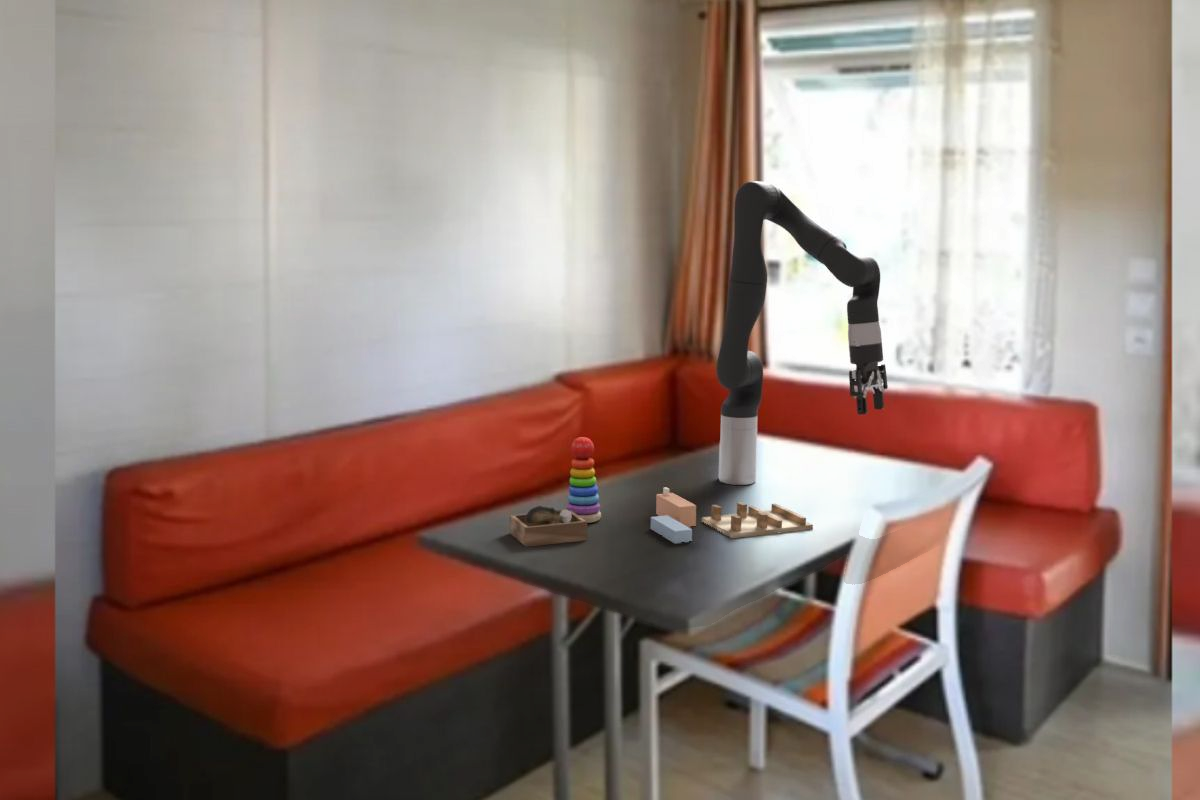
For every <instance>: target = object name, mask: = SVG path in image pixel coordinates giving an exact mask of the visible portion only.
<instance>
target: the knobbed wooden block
mask: <svg viewBox="0 0 1200 800" xmlns="http://www.w3.org/2000/svg"><path fill="white" fill-rule="evenodd" d="M662 489H663V491H662V493H657V494H656V495H655V497H656V502H655V503H656V507H655V510H656V511H655V512H656V513H655V515H656V514H657V515H658V516H664V515H668V516H670V517H671V518H673V519H675V520H677V521H678V522H680V523H682V524H684V525H685V526H687V527H689V528H692V527H691V526H697V505H696V504H694V503H693V502H691V501H689V500H686V499H685V498H684V497H681V496H679V495H677V494H675V493H673V492H670V488H668V487H667V486H666V487H663V488H662ZM657 515H656V516H657Z"/></svg>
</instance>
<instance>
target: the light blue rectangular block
mask: <svg viewBox="0 0 1200 800" xmlns="http://www.w3.org/2000/svg"><path fill="white" fill-rule="evenodd" d="M650 530H652V531H653V532H655V533H656V534H659V535H662V536H661V537H663V538H664V539H667V540H668V541H670V542H671V543H673V544H682V543H681V542H685V543H690V542H689V541H692V542H693V529H692V527H687V526H685V525H684V524H682V523H680V522H678V521H677V520H675V519H673V518H671V517H670V516H668V515H664V516H657V515H656V516H650Z"/></svg>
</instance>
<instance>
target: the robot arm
mask: <svg viewBox="0 0 1200 800" xmlns="http://www.w3.org/2000/svg"><path fill="white" fill-rule="evenodd" d="M733 210H734V215H733V216H734V219H733V220H734V223H733V224H734V225H733V226H734V227H733V228H734V229H733V233H734V234H733V246H732V256H731V267H730V268H731V269H730V273H729V274H730V275H729V280H728V281H729V282H728V290H727V304H726V311H725V317H724V318H725V319H724V327H723V334H722V339H721V343H720V347H719V351H718V352H719V353H718V355H717V356H718V358H717V363H716V369H715V370H716V378H717V379H718V382H719V385H720V386H721V387H722V388H724V389H725V390H728V391H729V393H728V395H727V397H726V398H725V400H724V401H723V402H722V403H721V406H720V440H719V443H718V445H719V446H718V447H719V448H718V480H719V482H720V483H723V484H727V485H732V486H734V485H735V486H736V485H737V486H744V485H745V486H746V485H752V484H754V483H756V481H757V480H756V478H757V477H756V476H757V450H758V449H757V448H758V446H757V445H758V444H757V443H758V418H759V417H758V415H759V414H758V413H759V407H760V405H761V402H762V398H763V397H762V396H763V395H762V394H763V383H764V367H763V362H762V360H761V358H760V357H759V355H758V354H757V353H755V352H754V351H752V350H749V343H750V338H751V334H752V332H753V329H754V326H755V325H756V322H757V321H758V318H759V316H760V314H761V312H762V310H763V307H764V304H765V300H766V295H767V285H768V269H767V266H766V265H767V264H766V261H765V257H764V253H763V248H762V232H763V224H764V221H766V220H767V221H769V222H771V223H774V224H775V225H778V226H779V227H781V228H782V229H784V230H785V231H786V232H787V233H788V234H790V235H791V237H793V239H794V240H795V242H796V243H797V244H798V245H799V247H800V248H801V249H802V250H803V251H805V253H807V254H808V255H809V256H811V257H812V258H814V259H815V260H816V261H818V262H819V263H820V264H822V265H823V266H825V267H826V269H827V270H828V271H829V272H830V274H832V275H833V276H834V277H835V278H836V280H838V281H839V283H841V284H842V285H845V286H846V287H849V288H852V289H853V290H852V297H851V298H850V299H849V300H848V301H847V303H846V313H847V323H848V324H847V325H848V326H847V328H848V329H847V337H848V339H847V341H848V350H849V361H850V362H849V363H850V364H851V365H855V367H856V368H855V369H854V370H853V369H852V370H849V371H848V377H849V378H848V379H849V380H848V381H849V396H850V397H854V399H855V400H856V410H857V412H856V413H857V415H866V414H868V402H867V398H866V397H867V393H868V391H869V390H870V389H871V391H872V392H873V393H872V398H873V407H874V408H873V409H874V410H884V408H885V403H884V402H885V400H884V399H885V398H884V393H885V390H888V388H889V387H888V377H887V369H886V364H884V363H883V364H882V363H881V362H883V361H884V353H883V351H884V350H883V342H882V339H883V338H882V331H881V325H880V317H879V316H880V315H879V307H878V299H879V295H880V286H881V270H880V266H879V264H878V262H877V261H876V259H874V257H872V256H868V255H858V256H857V255H854V254H853V253H851V252H850V251H849V250H848V248H847V245H846V243H845V242H844V241H843V240H842V239H840V237H838V236H836V235H835V234H834V233H832V232H831V231H829V230H827V229H826V228H825V227H824V226H822V225H821V224H819V223H818V222H817V221H816V220H814V219H812V218H811V217H810V216H809V215H807V214H806V213H805V212H804V211H803V210H802V209H801V208H800V207H798V206H797V205H796V204H795V202H793V201H792V200H791V199H790V198H789V196H787V195H786V194H785V193H784V192H783V191H782V190H781V189H780V188H779V187H778V186H777V185H776V184H774V183H773V182H770V181H754V180H752V181H751V180H750V181H746V182H745V183H743V184H742V185H740V187H739V188H738V190H737V192H736V194H735V198H734V209H733ZM878 363H879V364H878ZM880 363H881V364H880Z"/></svg>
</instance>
